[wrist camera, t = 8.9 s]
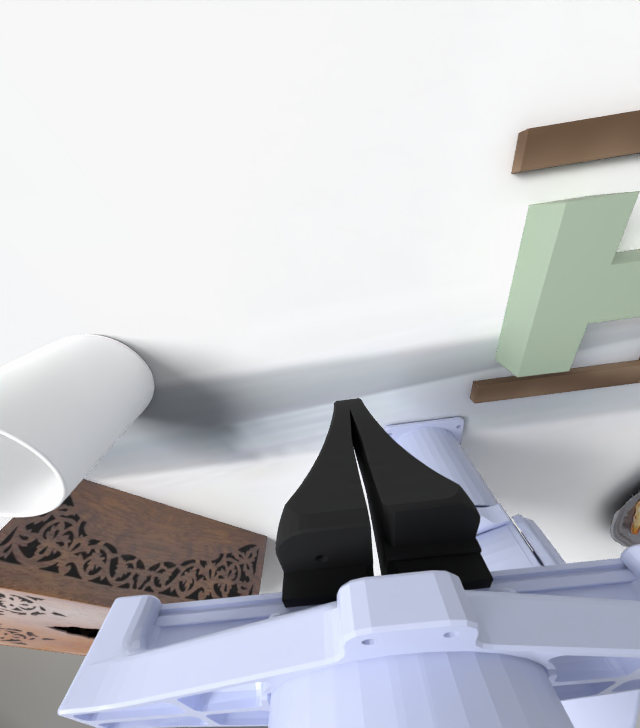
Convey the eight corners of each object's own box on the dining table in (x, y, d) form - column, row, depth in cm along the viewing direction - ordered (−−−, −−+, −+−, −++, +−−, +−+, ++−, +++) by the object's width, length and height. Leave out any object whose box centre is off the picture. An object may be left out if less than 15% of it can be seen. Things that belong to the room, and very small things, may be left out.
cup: (170, 409, 25) (91, 514, 16) (44, 415, 25) (-106, 524, 16) (137, 328, 21) (7, 408, 12) (-13, 335, 21) (-259, 421, 12)
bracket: (650, 375, 24) (660, 380, 24) (470, 398, 25) (474, 403, 24) (819, 83, 15) (844, 76, 14) (518, 132, 15) (528, 128, 15)
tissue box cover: (267, 534, 36) (253, 634, 27) (224, 576, 42) (202, 670, 33) (61, 469, 29) (-49, 578, 20) (43, 531, 34) (-49, 638, 25)
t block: (622, 343, 23) (662, 359, 20) (494, 359, 23) (517, 377, 21) (701, 178, 17) (772, 170, 14) (528, 205, 17) (566, 202, 15)
